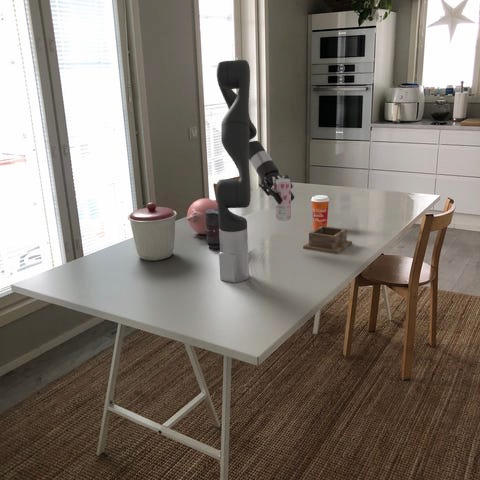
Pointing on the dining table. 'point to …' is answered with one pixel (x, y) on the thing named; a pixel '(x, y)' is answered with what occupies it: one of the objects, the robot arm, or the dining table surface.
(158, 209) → the canister
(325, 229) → the can socket
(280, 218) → the beverage can
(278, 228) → the dining table surface
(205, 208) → the pink piggy bank
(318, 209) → the paper cup
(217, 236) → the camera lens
